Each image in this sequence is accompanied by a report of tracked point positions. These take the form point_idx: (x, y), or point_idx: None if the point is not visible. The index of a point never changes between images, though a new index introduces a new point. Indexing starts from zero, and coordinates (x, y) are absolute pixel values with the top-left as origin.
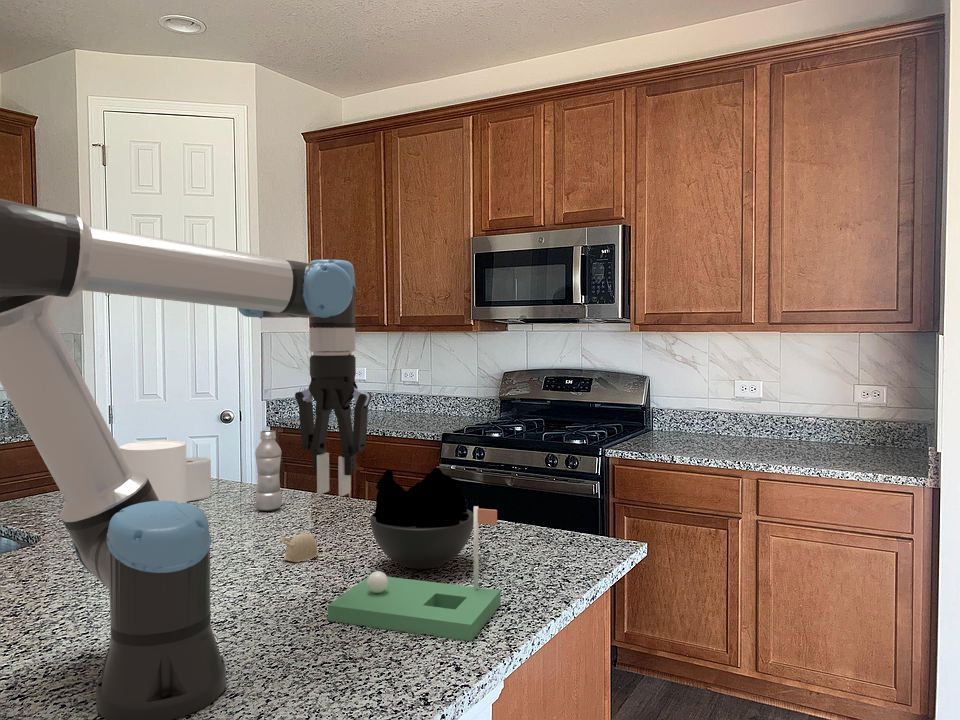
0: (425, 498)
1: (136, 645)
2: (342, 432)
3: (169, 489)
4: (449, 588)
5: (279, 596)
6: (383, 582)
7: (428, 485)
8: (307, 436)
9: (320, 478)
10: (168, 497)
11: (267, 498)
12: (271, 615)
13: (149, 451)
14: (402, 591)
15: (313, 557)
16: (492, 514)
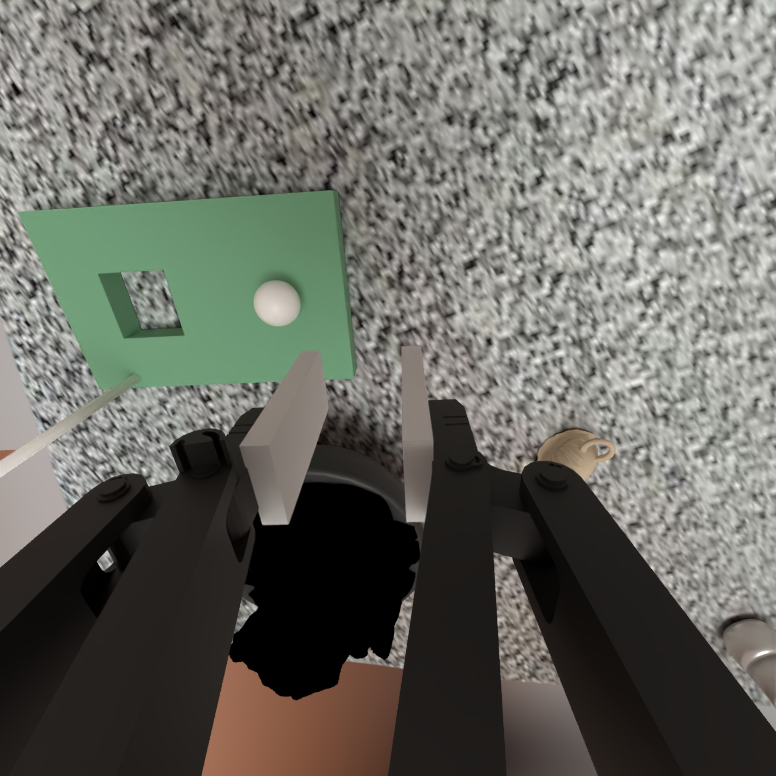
0: (270, 574)
1: None
2: (137, 610)
3: None
4: (179, 365)
5: (504, 269)
6: (254, 295)
7: (314, 641)
8: (559, 551)
9: (405, 374)
10: None
11: (759, 643)
12: (464, 168)
13: None
14: (244, 321)
15: (538, 457)
16: None
